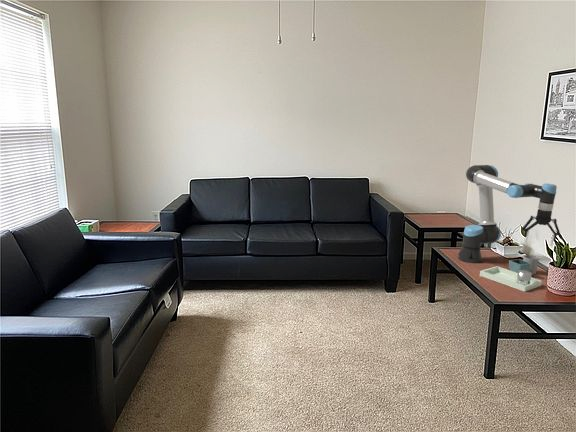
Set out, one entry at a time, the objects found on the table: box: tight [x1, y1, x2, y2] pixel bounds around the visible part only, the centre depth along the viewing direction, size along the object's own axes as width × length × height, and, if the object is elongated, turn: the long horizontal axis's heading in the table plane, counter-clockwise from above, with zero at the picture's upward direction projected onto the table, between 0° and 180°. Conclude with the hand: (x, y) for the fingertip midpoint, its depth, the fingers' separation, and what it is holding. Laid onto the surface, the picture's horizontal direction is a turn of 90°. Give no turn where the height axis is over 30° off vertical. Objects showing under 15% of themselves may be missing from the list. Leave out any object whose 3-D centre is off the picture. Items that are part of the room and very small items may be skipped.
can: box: [516, 270, 533, 286], centre depth 256 cm, size 7×7×8 cm
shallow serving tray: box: [479, 266, 543, 292], centre depth 263 cm, size 28×18×4 cm, turn 34°
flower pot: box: [508, 258, 531, 273], centre depth 274 cm, size 9×9×9 cm
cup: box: [522, 254, 539, 275], centre depth 281 cm, size 8×8×10 cm
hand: (538, 243), depth 268 cm, fingers open, 13 cm apart
